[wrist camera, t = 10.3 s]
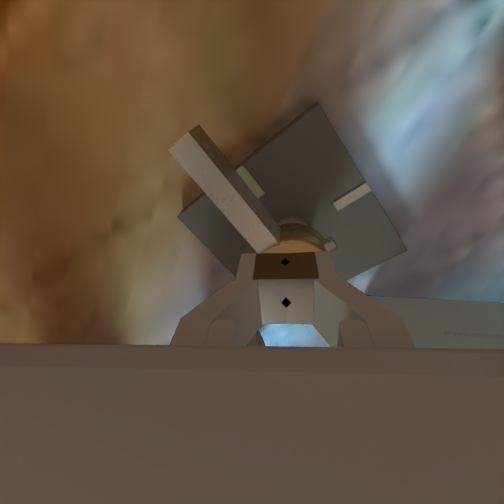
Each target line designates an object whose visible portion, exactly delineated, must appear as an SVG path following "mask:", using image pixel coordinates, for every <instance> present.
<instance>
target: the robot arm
mask: <svg viewBox="0 0 504 504" xmlns="http://www.w3.org/2000/svg"><path fill="white" fill-rule="evenodd" d="M261 324H313V326H314V327H315V328H316V330H317V331H318V332H319V333H320V334H321V336H322V337H323V338H324V339H325V340H326V342H327V343H328V344H329V345H330V346H331V347H279V346H246V345H247V343H248V342H249V341H250V340H251V338H252V337H253V336H254V335H255V333H256V332H257V331H258V329H259V328H260V327H261V326H262V325H261ZM0 504H504V349H445V348H416V346H415V344H414V342H413V340H412V338H411V336H410V334H409V332H408V330H407V328H406V326H405V324H404V322H403V320H402V319H401V318H400V317H398V316H397V315H395V314H394V313H392V312H391V311H390V310H388V309H387V308H385V307H384V306H382V305H381V304H379V303H378V302H376V301H375V300H373V299H372V298H370V297H369V296H367V295H366V294H364V293H363V292H361V291H360V290H358V289H357V288H355V287H354V286H352V285H351V284H349V283H348V282H346V281H345V280H343V279H338V278H337V274H336V271H335V267H334V264H333V260H332V256H331V253H330V251H318V252H299V253H257V254H256V253H243V254H242V255H241V258H240V262H239V267H238V271H237V275H236V280H231V281H230V282H229V283H227V284H226V285H225V286H223V287H222V288H221V289H219V290H218V291H217V292H215V293H214V294H213V295H211V296H210V297H209V298H207V299H206V300H205V301H203V302H202V303H201V304H199V305H198V306H197V307H195V308H194V309H193V310H191V311H190V312H189V313H187V314H186V315H185V316H183V317H182V318H181V319H180V321H179V323H178V326H177V328H176V331H175V333H174V335H173V338H172V340H171V342H170V345H119V344H39V343H0Z"/></svg>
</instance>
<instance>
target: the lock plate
mask: <svg viewBox="0 0 504 504" xmlns="http://www.w3.org/2000/svg"><path fill="white" fill-rule="evenodd" d="M234 169H235V170H236V171H237V173H238V174H239V175H240V177H241V178H242V179H243V180H244V182H245V183H246V184H247V185H248V187H249V188H250V189H251V191H252V192H253V193H254V194H255V196H256V197H257V198H258V199H259V201H260V202H261V203H262V204H263V206H264V207H265V208H266V210H267V211H268V212H269V213H270V215H271V216H272V217H273V218H274V220H275V221H276V222H277V223H278V225H282V224H286V223H300V224H305V225H307V226H310V227H312V228H314V229H315V230H317V231H318V232H319V233H320V234H321V235H322V236H323V237H324V238H325V239H326V238H328V237H330V236H332V237H333V239H334V240H335V242H336V244H337V246H338V248H337V249H335V250H333V251H332V252H330V253H331V256H332V260H333V264H334V267H335V271H336V274H337V278H338V279H343V280H345V281H346V280H348V279H350V278H352V277H354V276H356V275H358V274H360V273H362V272H364V271H366V270H368V269H370V268H372V267H374V266H376V265H378V264H381V263H383V262H385V261H387V260H389V259H391V258H393V257H395V256H397V255H399V254H401V253H403V252H405V251H407V249H406V247H405V245H404V244H403V242H402V240H401V239H400V237H399V235H398V234H397V232H396V230H395V229H394V227H393V226H392V224H391V222H390V221H389V219H388V217H387V216H386V214H385V212H384V211H383V209H382V207H381V206H380V204H379V203H378V201H377V199H376V198H375V196H374V194H373V193H372V191H371V189H370V188H369V186H368V184H367V183H366V181H365V179H364V178H363V176H362V175H361V173H360V171H359V170H358V168H357V166H356V165H355V163H354V161H353V160H352V158H351V156H350V155H349V153H348V152H347V150H346V148H345V147H344V145H343V143H342V142H341V140H340V138H339V137H338V135H337V133H336V132H335V130H334V129H333V127H332V125H331V124H330V122H329V120H328V119H327V117H326V115H325V114H324V112H323V110H322V109H321V107H320V105H319V104H318V103H317V102H316V103H315V104H313V105H312V106H311V107H310V108H308V109H307V110H306V111H305V112H303V113H302V114H301V115H300V116H298V117H297V118H296V119H295V120H293V121H292V122H291V123H290V124H288V125H287V126H286V127H285V128H283V129H282V130H281V131H280V132H278V133H277V134H276V135H275V136H273V137H272V138H271V139H270V140H269V141H267V142H266V143H265V144H264V145H262V146H261V147H260V148H259V149H257V150H256V151H255V152H254V153H252V154H251V155H250V156H249V157H247V158H246V159H245V160H244V161H242V162H241V163H240V164H239V165H237V166H236V167H235V168H234ZM177 217H178V218H179V219H180V220H181V221H182V222H183V223H184V224H185V225H186V226H187V227H188V229H189V230H190V231H191V232H192V233H193V234H194V235H195V236H196V237H197V238H198V239H199V240H200V241H201V242H202V243H203V244H204V245H205V246H206V247H207V248H208V249H209V250H210V251H211V252H212V253H213V254H214V255H215V256H216V257H217V258H218V259H219V260H220V261H221V262H222V263H223V264H224V265H225V266H226V267H227V268H228V269H229V270H230V271H231V272H232V273H233V275H234V276H235V277H236V275H237V271H238V267H239V262H240V258H241V255H242V254H243V253H256V251H255V250H254V249H253V247H252V246H251V245H250V244H249V243H248V242H247V241H246V239H245V238H244V237H243V236H242V235H241V234H240V232H239V231H238V230H237V229H236V228H235V227H234V226H233V224H232V223H231V222H230V221H229V220H228V219H227V218H226V216H225V215H224V214H223V213H222V212H221V211H220V209H219V208H218V207H217V206H216V205H215V204H214V203H213V201H212V200H211V199H210V198H209V197H208V196H207V195H206V193H205V192H204V193H203V194H201V195H200V196H199V197H198V198H196V199H195V200H194V201H193V202H191V203H190V204H189V205H188V206H186V207H185V208H184V209H183V210H182V211H181V212H180V214H179V215H178V216H177Z"/></svg>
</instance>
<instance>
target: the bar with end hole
mask: <svg viewBox="0 0 504 504" xmlns="http://www.w3.org/2000/svg"><path fill="white" fill-rule="evenodd" d="M369 297H370V298H372V299H373V300H375V301H376V302H378V303H379V304H381V305H382V306H384V307H385V308H387V309H388V310H390V311H391V312H392V313H394V314H395V315H397V316H398V317H400V318H401V319H402V320H403V322H404V324H405V326H406V328H407V330H408V332H409V334H410V336H411V338H412V340H413V342H414V344H415V346H416V348H445V349H504V303H494V302H476V301H458V300H439V299H421V298H403V297H384V296H369Z"/></svg>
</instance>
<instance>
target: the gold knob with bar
mask: <svg viewBox="0 0 504 504" xmlns="http://www.w3.org/2000/svg"><path fill="white" fill-rule="evenodd" d="M168 151H169V152H170V153H171V154H172V156H173V157H174V158H175V159H176V160H177V161H178V162H179V164H180V165H181V166H182V167H183V168H184V169H185V170H186V172H187V173H188V174H189V175H190V176H191V177H192V178H193V180H194V181H195V182H196V183H197V184H198V185H199V187H200V188H201V189H202V190H203V191H204V192H205V193H206V195H207V196H208V197H209V198H210V199H211V200H212V201H213V203H214V204H215V205H216V206H217V207H218V208H219V209H220V211H221V212H222V213H223V214H224V215H225V216H226V218H227V219H228V220H229V221H230V222H231V223H232V224H233V226H234V227H235V228H236V229H237V230H238V231H239V232H240V234H241V235H242V236H243V237H244V238H245V239H246V241H247V242H248V243H249V244H250V245H251V246H252V247H253V249H254V250H255V251H256V254H257V253H299V252H318V251H330V252H332V251H333V250H335V249H337V248H338V246H337V244H336V242H335V240H334V239H333V237H332V236H330V237H328V238H326V239H325V238H324V237H323V236H322V235H321V234H320V233H319V232H318V231H317V230H315V229H314V228H312V227H310V226H307V225H305V224H300V223H286V224H282V225H278V223H277V222H276V221H275V220H274V218H273V217H272V216H271V215H270V213H269V212H268V211H267V210H266V208H265V207H264V206H263V204H262V203H261V202H260V201H259V199H258V198H257V197H256V196H255V194H254V193H253V192H252V191H251V189H250V188H249V187H248V185H247V184H246V183H245V182H244V180H243V179H242V178H241V177H240V175H239V174H238V173H237V171H236V170H235V169H234V168H233V166H232V165H231V164H230V163H229V161H228V160H227V159H226V158H225V156H224V155H223V154H222V152H221V151H220V150H219V149H218V147H217V146H216V145H215V144H214V142H213V141H212V140H211V139H210V137H209V136H208V135H207V133H206V132H205V131H204V130H203V128H202V127H201V126H200V125H198V126H196V127H195V128H193V129H191V130H190V131H188V132H187V133H186V134H185V135H184V136H183V137H182V138H181V139H180V140H178V141H177V142H176V143H175V144H174V145H173V146H172V147H171V148H170V149H169V150H168Z"/></svg>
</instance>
